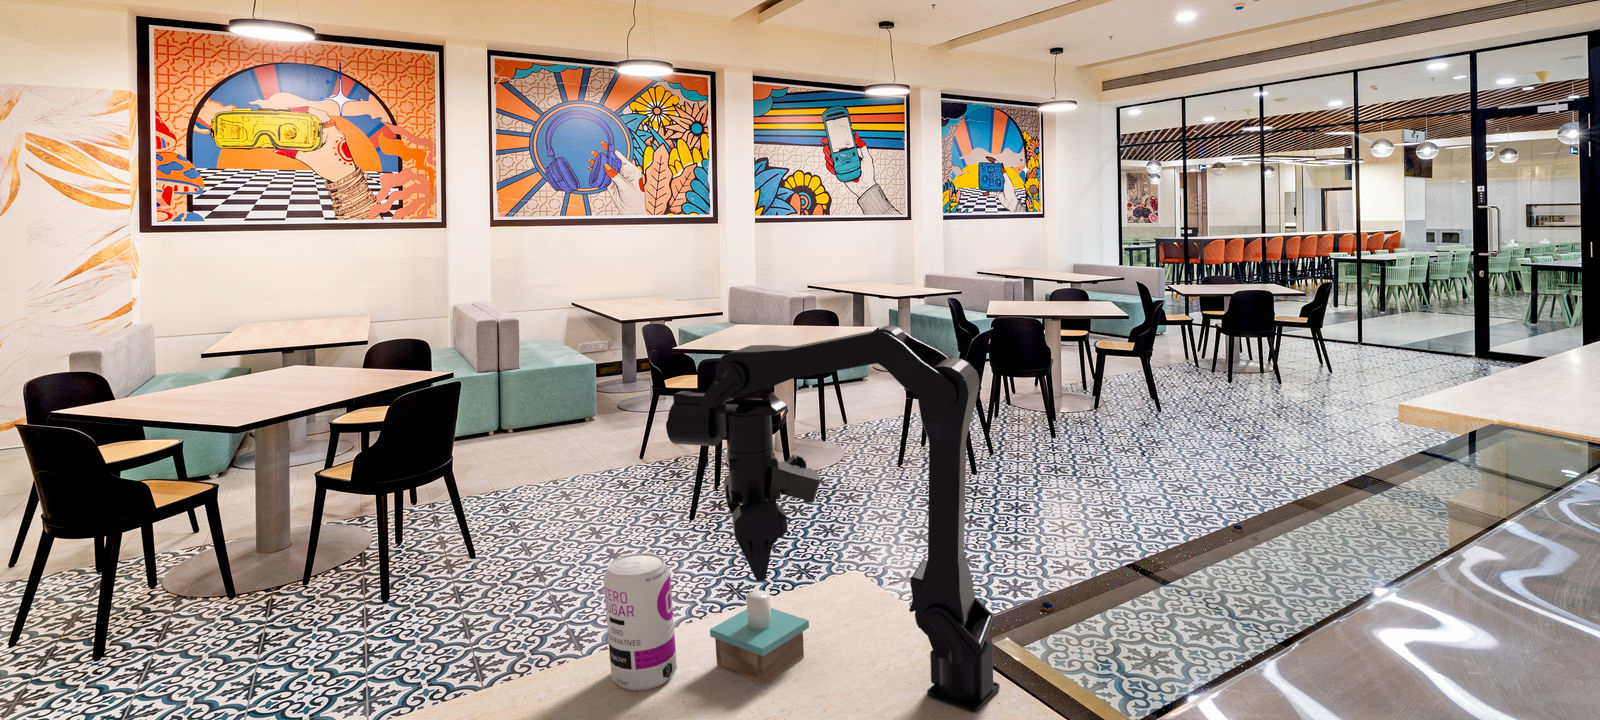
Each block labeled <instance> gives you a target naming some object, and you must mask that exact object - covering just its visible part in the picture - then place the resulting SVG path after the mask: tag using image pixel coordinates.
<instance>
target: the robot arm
mask: <svg viewBox="0 0 1600 720" xmlns="http://www.w3.org/2000/svg"><path fill="white" fill-rule="evenodd" d="M875 364H876V365H879V366H881V367H882V368H884V369H885V370H886V371H887V372H888V373H889V374H890V375H891V376H892V377H893V378H894V379H895V380H896V381H897V382H898V383H899V384H900V385H901V386H902V387H903V388H904V389H906V390H908V391H909V392H910V393H912V394H913V395H915V396H916V397H917V401H918V407H919V413H920V419H921V422H922V426H923V428H924V431H925V434H926V437H927V439H928V447H929V448H928V511H927V512H928V515H927V516H928V518H927V521H928V523H927V525H928V527H927V528H928V529H927V560H925V559H922V560H921V561H920V563H919V565H918V566H917V568H916V569H915V571H914V572H913V574H912V575H911V577H910V589H911V596H912V598H911V599H912V601H911V605H910V607H909V610H908V612H910V613H913V612H914V619H915V623H916V626H917V627H918V629H920V630H921V631H922V632H923V633H924V635H926V636H927V638H928V640H929V643H930V645H931V646H930V647H931V649H932V650H931V651H930V652H929V653H930V682H931V684H933V685H932V686H931V687H929V688H928V689H927V692H926V693H927V696H928V697H931V698H933V699H936V700H940V701H943V702H945V703H948V704H951V705H953V706H956V707H959V708H962V709H964V710H968V711H971V712H977V711H979V710H980V709H981V708H982V707H983V706H984V705H985V704H986V703H987V702H988V701H989V700H990V699H991V698H992V697H993V696H994V695H995V694H996V693H997V692H998V691H999V690H1000V687H1001V686H1000V683H998V682H996V681H994V645H993V644H992V643H989V642H987V640H986V638H987V636H988V633H989V631H990V628H991V625H992V621H993V620H994V615H993V613H992V612H990V611H989V609H988V608H986V606H985V605H984V604H983V603H982V602H981V601H980V600H979V599H977V597H976V596H975V591H974V584H973V579H972V572H971V570H970V567H969V564H968V561H967V558H966V555H965V526H966V525H965V523H966V522H965V521H966V517H965V516H966V514H965V513H966V473H967V471H966V468H967V467H966V465H967V464H966V463H967V459H966V458H967V438H968V434H969V430H970V427H971V423H972V419H973V415H974V412H975V408H976V403H977V398H978V395H979V394H978V392H979V389H980V378H979V374H978V371H977V370H976V369H975V368H974V366H973V365H971V363H969V362H968V361H966V360H964V359H963V358H957V357H949V356H947V355H946V354H944V353H943V352H941V351H940V350H938V349H936V348H934V347H932V346H931V345H929V344H926V343H924V342H922V341H921V340H918V339H917V338H914V337H912V336H911V335H910V334H909V333H907V332H906V331H904V330H903V329H901V328H900V327H899V326H896V325H885V326H883V327H880V328H877V329H874V330H871V331H870V330H869V331H866V332H865V331H864V332H860V333H855V334H849V335H846V336H845V335H844V336H839V337H835V338H831V339H826V340H825V339H824V340H820V341H815V342H814V341H813V342H810V343H809V342H808V343H805V344H804V343H803V344H799V345H793V346H791V345H789V346H788V345H778V344H756V345H755V344H754V345H753V344H751V345H748V346H744V347H742V348H739V349H736V350H734V351H730V352H728V353H726V354H725V353H724V354H723V355H722V356H721V357H720V358H719V361H718V362H717V364H716V367H715V377H714V378H713V380H712V382H711V384H710V385H709V387H708V388H707V390H706V391H705V392H693V391H690V390H688V391H686V390H681V391H679V392H675V393H674V394H673V396H672V397H673V399H672V400H673V403H672V405H671V407H670V409H669V411H668V415H667V421H665V429H666V434H667V437H668V439H669V441H670V442H671V443H672V444H674V445H685V446H686V445H688V446H703V447H705V446H706V447H707V446H708V447H716V446H718V445H719V444H720V443H721V442H722V440H723V439H725V438H726V447H727V448H726V451H727V452H726V461H727V467H728V474H727V476H726V477H725V478H724V479H723V487H724V496H725V500H726V505H727V507H728V509H729V512H730V514H731V519H732V528H733V534H734V539H735V541H736V542H737V544H738V545H739V548H740V550H741V552H742V554H743V556H744V558H745V560H746V562H747V564H748V566H749V568H750V571H751V572H752V574H753V577H754V579H755V580H756V581H757V582H764V581H766V580H767V574H768V571H769V570H768V569H769V564H770V558H771V553H772V550H773V545H774V543H775V542H777V540H779V539H781V538H783V537H784V536H785V534H787V533H788V516H787V514H786V512H785V509H784V508H783V507H782V506H781V505H779V504H778V503H777V502H776V500H781V499H782V498H781V494H782V495H783V496H788V497H792V498H795V499H800V500H803V502H804V503H810V504H813V503H814V502H815V499H816V496H817V492H818V490H819V487H820V483H821V481H822V480H821V477H820V475H819V474H818V472H817V471H815V470H814V469H813V468H811V467H809V468H808V467H807V464H806V459H805V458H804V457H803V456H801V455H797V454H792V455H791V456H790V457H789V458H788V459H787V460H786V461H785V460H783V461H782V462H781V461H779V459H778V458H777V457H776V455H775V451H774V446H773V445H774V444H773V443H774V439H773V426H772V425H773V424H772V417H773V416H774V417H775V416H777V415H779V414H781V413H783V412H784V411H786V410H788V405H787V404H786V403H785V402H784V401H782V400H781V399H780V398H778V397H777V396H776V394H775V393H774V392H770V393H769V394H766V395H764V397H763V398H747V397H749V396H752V395H754V394H758V393H759V392H762V391H764V390H767V389H770V388H772V387H774V386H777V385H779V384H782V383H784V382H787V381H789V380H793V379H799V378H805V377H809V376H816V375H820V374H821V375H822V374H826V373H832V372H836V371H844V370H849V369H854V368H859V367H860V368H861V367H865V366H870V365H875ZM734 399H741V400H740V401H739V403H738V404H733V403H732V404H729V403H728V402H730V401H732V400H734Z"/></svg>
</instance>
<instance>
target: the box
mask: <svg viewBox="0 0 1600 720" xmlns="http://www.w3.org/2000/svg"><path fill="white" fill-rule="evenodd" d="M714 639H715V640H714V641H715V653H716V654H715V656H716V667H718V668H720V669H723V670H725V671H728V672H731V673H733V674H736V675H738V676H740V677H744V678H745V679H748V680H751V681H753V682H756V683H758V684H762V686H763V685H765V684H767V683H769V682H770V681H772V680H773V679H775V678H776V677H777V676H779V675H780V674H782V673H783V672H785V671H786V670H788V669H790V668H791V667H792V666H794V665H796V664H797V663H799V662H800V661H802V660H803V659H804V658H805V653H804V652H805V650H804V648H805V647H804V631H803V632H801V633H800V634H798V635H797V636H795V637H793V638H792V639H790V640H789V641H787V642H785V643H784V644H782V645H781V646H779V647H778V648H776V649H774V650H773V651H771V652H770V653H768V654H766V655H765V656H761V655H758V654H755V653H753V652H750V651H747V650H745V649H742V648H739V647H737V646H734V645H731V644H729V643H726V642H724V641H721V640H718V639H716V638H714Z"/></svg>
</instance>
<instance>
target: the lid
mask: <svg viewBox="0 0 1600 720" xmlns="http://www.w3.org/2000/svg"><path fill="white" fill-rule="evenodd" d="M745 597H746V599H745V600H746V609H744V610H742V611H740V612H739V613H737V614H735V615H733V616H731V617H729V618H728V619H725V620H724V621H723V622H720V623H718V624H717V625H715V626H713V627H711V628H709V634H710V635H709V636H710V637H711V638H714V639H715V638H716V639H718V640H721V641H724V642H726V643H729V644H731V645H734V646H737V647H739V648H742V649H745V650H747V651H750V652H753V653H755V654H758V655H761V656H765V655H766V654H768V653H770V652H771V651H773V650H774V649H776V648H778V647H779V646H781V645H782V644H784V643H785V642H787V641H789V640H790V639H792V638H793V637H795V636H797V635H798V634H800V633H801V632H803V633H804V632H805V631H807V630H808V629H809V628H810V621H809V619H805V618H803V617H799V616H796V615H793V614H790V613H787V612H784V611H781V610H778V609H775V608H772V607H771V594H770V592H769V591H767V590H753V591H750V592H748V593H747V594H746V596H745Z"/></svg>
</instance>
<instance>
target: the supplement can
mask: <svg viewBox="0 0 1600 720" xmlns="http://www.w3.org/2000/svg"><path fill="white" fill-rule="evenodd" d="M671 582H672V581H671V571H670V568H669V566H668V565H667V564H666V563H665V560H664V557H662V556H660V555H658V554H655V553H648V552H647V553H646V552H641V553H630V554H625V555H622V556H620V557H617V558H615V559H613V560H611V561H610V562H609V563H608V565H607V568H606V571H605V573H604V576H603V590H604V603H605V613H606V616H605V617H606V627H607V638H608V639H607V640H608V651H609V661H610V674H611V675H610V677H611V680H612V681H613V682H614V683H615V684H617V685H619V687H620V688H623V689H625V690H628V691H629V690H630V691H636V690H638V691H647V690H651V689H655V688H658V687H660V686H663V685H664V684H666V683H667V682H668V681H669V680H670V679H671V678H672V676H673V675H675V672H677V671H676V670H677V668H678V664H677V651H676V650H677V649H676V639H675V638H676V637H675V634H676V633H675V623H674V609H673V596H672V583H671ZM670 677H671V678H670ZM668 679H669V680H668ZM667 680H668V681H667ZM666 681H667V682H666ZM665 682H666V683H665ZM663 683H664V684H663ZM659 685H660V686H659ZM657 686H658V687H657Z"/></svg>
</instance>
